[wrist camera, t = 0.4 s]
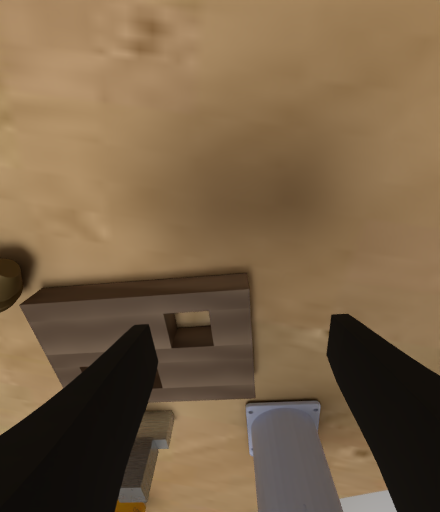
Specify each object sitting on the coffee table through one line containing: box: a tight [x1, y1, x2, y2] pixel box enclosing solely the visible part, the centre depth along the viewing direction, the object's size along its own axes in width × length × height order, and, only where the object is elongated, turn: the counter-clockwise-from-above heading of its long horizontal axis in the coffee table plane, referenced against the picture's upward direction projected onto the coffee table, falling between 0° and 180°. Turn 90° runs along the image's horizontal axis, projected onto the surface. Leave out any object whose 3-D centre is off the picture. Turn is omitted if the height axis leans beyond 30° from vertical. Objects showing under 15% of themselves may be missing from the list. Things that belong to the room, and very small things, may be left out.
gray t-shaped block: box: [118, 411, 174, 503], centre depth 24 cm, size 3×5×7 cm, turn 96°
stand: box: [19, 273, 255, 402], centre depth 21 cm, size 12×18×2 cm, turn 96°
